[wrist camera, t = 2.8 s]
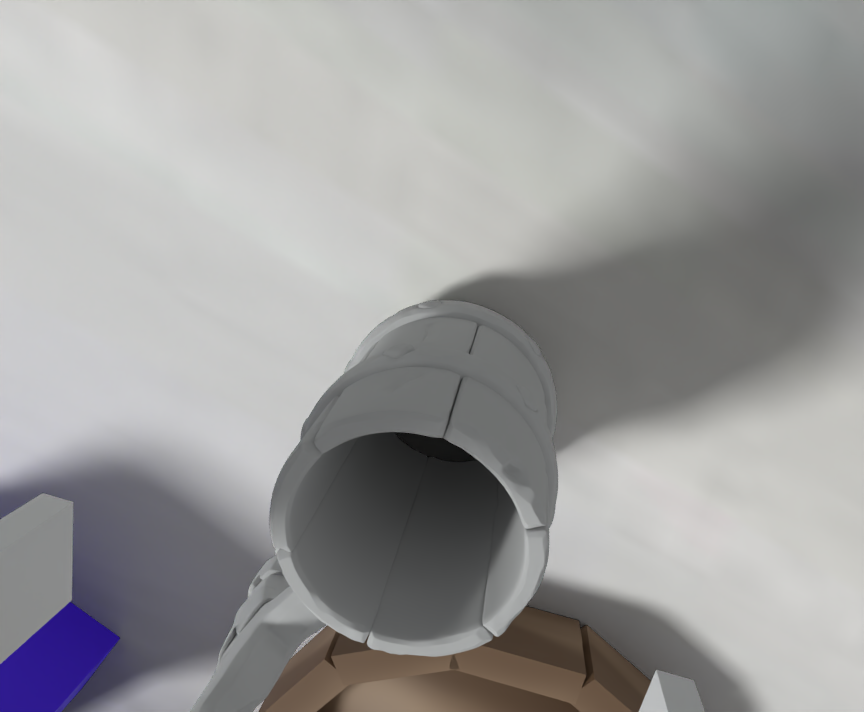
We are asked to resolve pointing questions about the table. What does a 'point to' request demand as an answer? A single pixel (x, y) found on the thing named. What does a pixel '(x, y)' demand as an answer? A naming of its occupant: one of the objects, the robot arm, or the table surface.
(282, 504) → the mug
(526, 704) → the tray
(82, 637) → the bracket
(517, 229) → the table surface
